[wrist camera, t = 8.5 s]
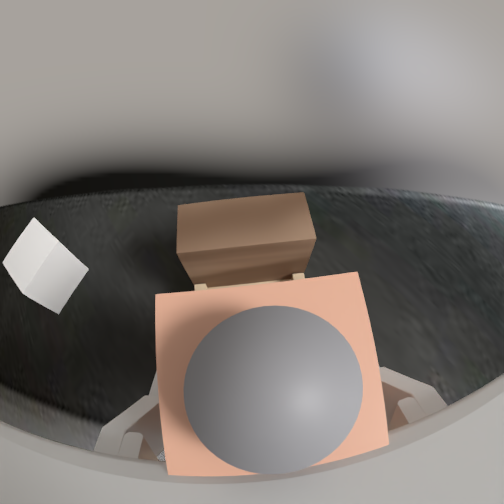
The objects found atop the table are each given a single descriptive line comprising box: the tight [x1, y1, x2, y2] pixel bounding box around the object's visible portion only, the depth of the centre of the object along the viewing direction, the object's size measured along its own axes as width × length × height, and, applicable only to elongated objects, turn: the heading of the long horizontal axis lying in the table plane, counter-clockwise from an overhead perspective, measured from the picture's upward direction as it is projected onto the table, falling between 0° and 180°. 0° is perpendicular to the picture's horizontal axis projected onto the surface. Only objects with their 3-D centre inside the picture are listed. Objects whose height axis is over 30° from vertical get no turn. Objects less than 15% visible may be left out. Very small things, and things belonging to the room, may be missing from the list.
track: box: [177, 192, 316, 291], centre depth 12 cm, size 27×7×7 cm, turn 6°
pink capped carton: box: [155, 272, 389, 476], centre depth 9 cm, size 5×5×12 cm
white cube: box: [3, 218, 89, 314], centre depth 19 cm, size 5×5×5 cm
